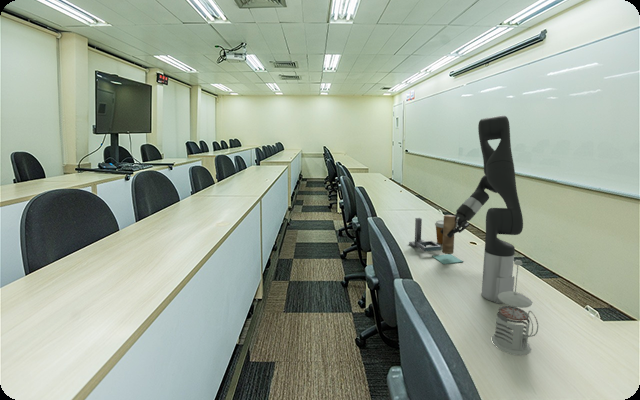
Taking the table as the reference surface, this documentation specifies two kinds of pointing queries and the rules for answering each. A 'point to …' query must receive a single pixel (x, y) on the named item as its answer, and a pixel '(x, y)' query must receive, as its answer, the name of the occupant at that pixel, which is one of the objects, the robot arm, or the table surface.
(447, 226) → the walnut rod
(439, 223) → the disposable coffee cup
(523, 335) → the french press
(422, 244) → the ring stand
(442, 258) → the felt coaster
